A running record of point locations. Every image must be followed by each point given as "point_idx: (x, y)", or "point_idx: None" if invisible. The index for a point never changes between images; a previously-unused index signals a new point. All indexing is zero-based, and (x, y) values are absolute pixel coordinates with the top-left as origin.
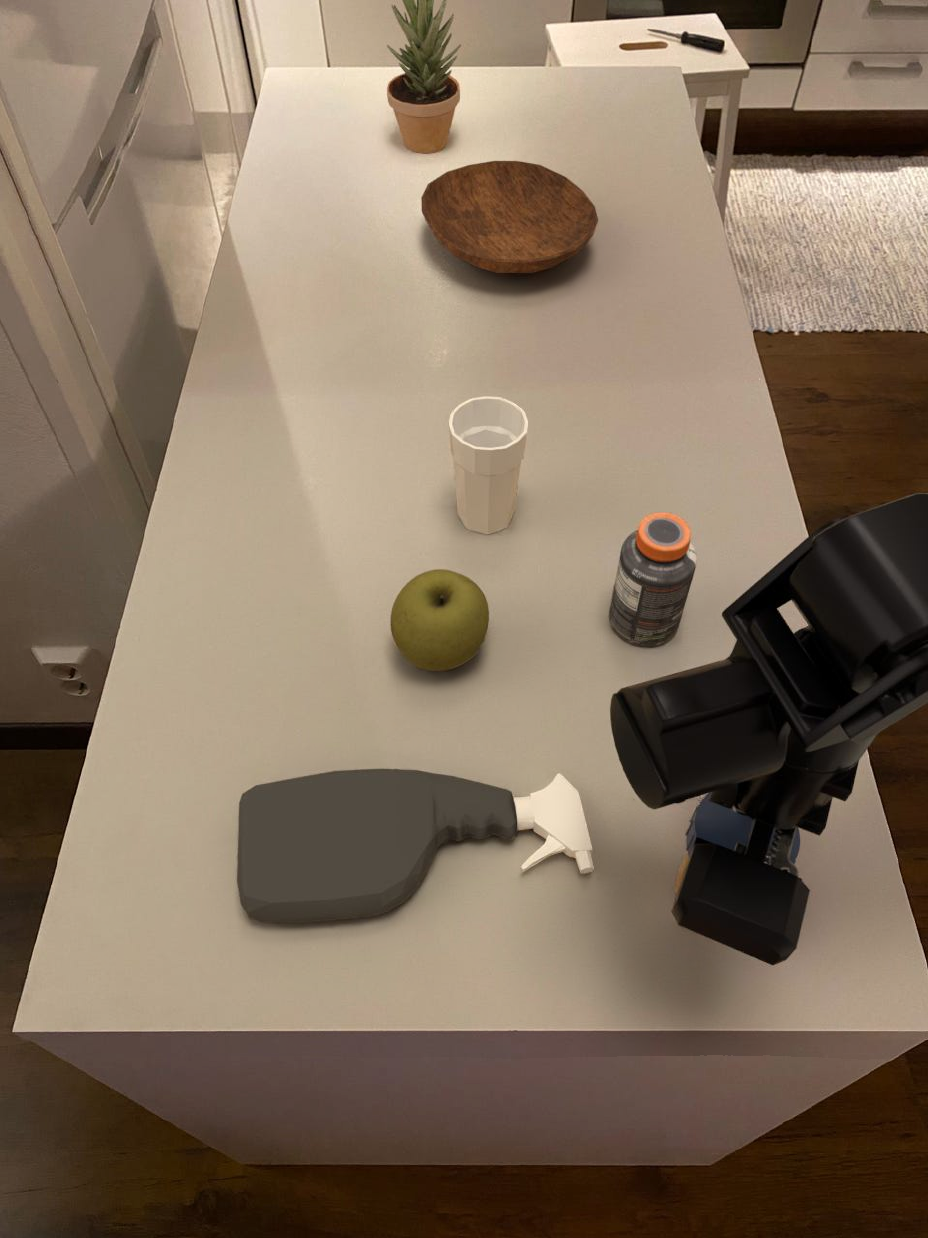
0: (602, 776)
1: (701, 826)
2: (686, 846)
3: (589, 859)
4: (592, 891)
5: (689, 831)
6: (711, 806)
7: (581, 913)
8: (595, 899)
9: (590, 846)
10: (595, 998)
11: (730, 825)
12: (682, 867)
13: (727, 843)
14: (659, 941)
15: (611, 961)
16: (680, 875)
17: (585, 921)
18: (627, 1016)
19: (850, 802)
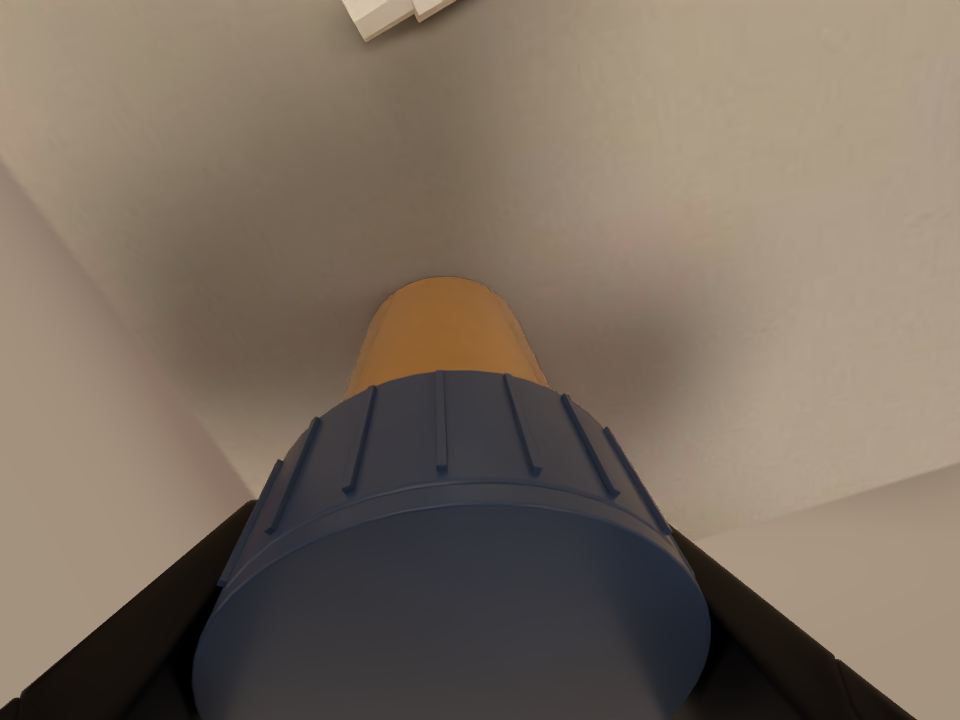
0: (686, 5)
1: (396, 547)
2: (391, 381)
3: (381, 11)
4: (329, 65)
5: (426, 411)
6: (547, 561)
7: (252, 46)
8: (310, 81)
9: (427, 3)
10: (58, 149)
11: (464, 641)
12: (434, 308)
13: (357, 651)
14: (286, 271)
15: (174, 169)
16: (423, 301)
17: (236, 66)
18: (75, 239)
19: (681, 522)
